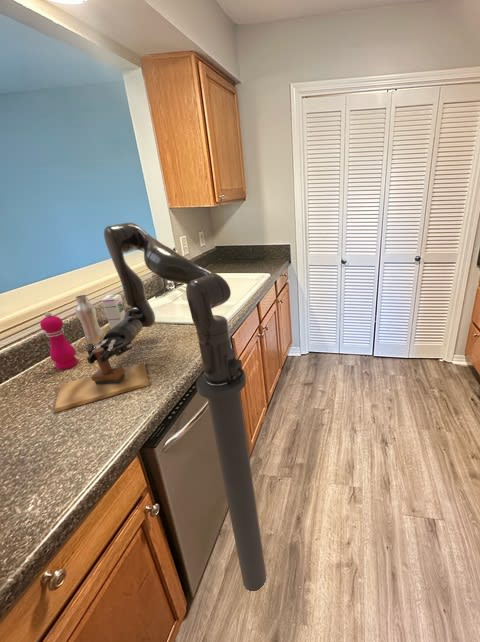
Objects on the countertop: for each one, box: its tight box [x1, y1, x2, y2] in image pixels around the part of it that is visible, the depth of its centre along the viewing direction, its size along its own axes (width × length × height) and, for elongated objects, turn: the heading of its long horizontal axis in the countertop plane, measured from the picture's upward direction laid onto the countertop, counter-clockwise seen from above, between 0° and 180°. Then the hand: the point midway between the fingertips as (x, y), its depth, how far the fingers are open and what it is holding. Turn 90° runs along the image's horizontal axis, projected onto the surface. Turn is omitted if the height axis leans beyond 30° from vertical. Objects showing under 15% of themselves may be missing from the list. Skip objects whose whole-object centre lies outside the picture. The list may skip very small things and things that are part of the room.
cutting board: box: [54, 362, 150, 413], centre depth 100 cm, size 24×14×1 cm, turn 119°
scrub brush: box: [90, 348, 125, 385], centre depth 98 cm, size 8×4×11 cm, turn 89°
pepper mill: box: [39, 311, 78, 371], centre depth 110 cm, size 7×7×20 cm
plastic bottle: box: [75, 294, 105, 345], centre depth 125 cm, size 6×7×20 cm
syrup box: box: [101, 293, 127, 330], centre depth 141 cm, size 6×6×14 cm
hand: (95, 360), depth 94 cm, fingers closed on scrub brush, 3 cm apart
